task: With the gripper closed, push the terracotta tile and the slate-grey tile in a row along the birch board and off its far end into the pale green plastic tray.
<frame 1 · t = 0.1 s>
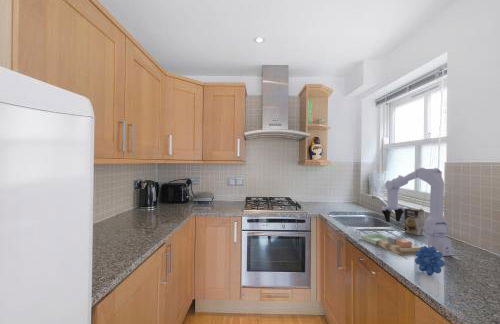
hand: (392, 221, 155), 10 cm above the countertop, tool pointing down, fingers open, 7 cm apart
terracotta tile: (403, 245, 130), point 3 cm above the countertop, touching birch board
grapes: (430, 274, 102), on the countertop
birch board: (398, 249, 133), on the countertop
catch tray: (377, 241, 148), on the countertop
slate tile: (395, 242, 135), point 3 cm above the countertop, touching birch board
coffee box: (413, 233, 166), on the countertop
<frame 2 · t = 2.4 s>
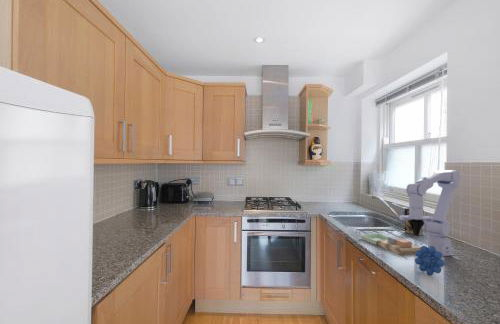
hand: (416, 235, 123), 10 cm above the countertop, tool pointing down, fingers closed
nothing on the countertop moved.
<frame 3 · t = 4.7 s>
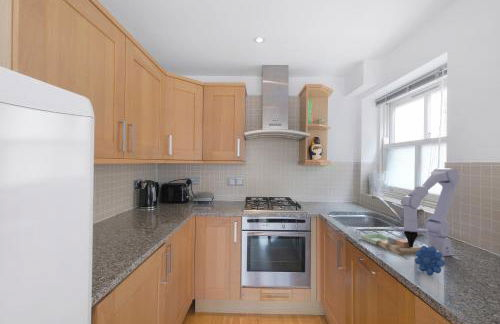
hand: (410, 246, 126), 4 cm above the countertop, tool pointing down, fingers closed
terracotta tile: (403, 245, 130), point 3 cm above the countertop, touching birch board, gripper
everything else where it was.
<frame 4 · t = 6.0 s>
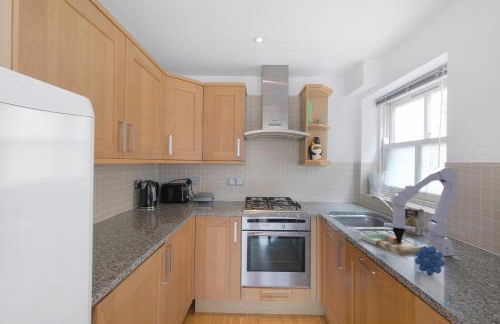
hand: (399, 242, 133), 4 cm above the countertop, tool pointing down, fingers closed
terracotta tile: (394, 241, 137), point 3 cm above the countertop, touching gripper
slate tile: (387, 239, 142), point 3 cm above the countertop
everything else where it was.
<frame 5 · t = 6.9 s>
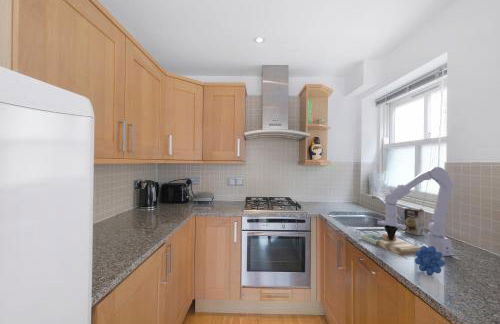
hand: (391, 239, 138), 4 cm above the countertop, tool pointing down, fingers closed
terracotta tile: (389, 239, 142), point 3 cm above the countertop, touching birch board
slate tile: (378, 235, 149), point 3 cm above the countertop, tilted 180°, touching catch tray
everything else where it was.
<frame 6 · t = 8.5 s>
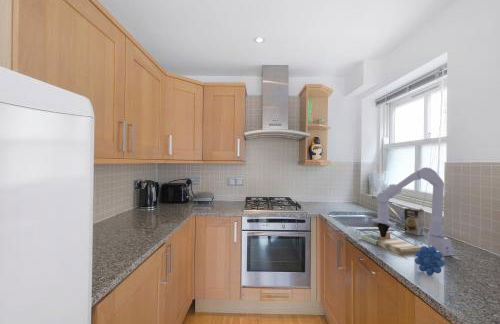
hand: (383, 236, 143), 4 cm above the countertop, tool pointing down, fingers closed
terracotta tile: (386, 237, 145), point 3 cm above the countertop, tilted 93°, touching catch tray, gripper, slate tile
slate tile: (378, 235, 150), point 3 cm above the countertop, tilted 180°, touching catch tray, terracotta tile
everything else where it was.
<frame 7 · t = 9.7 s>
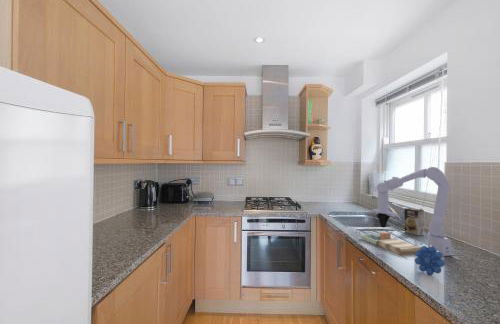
hand: (383, 227, 144), 9 cm above the countertop, tool pointing down, fingers closed
terracotta tile: (386, 237, 145), point 3 cm above the countertop, tilted 90°, touching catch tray
slate tile: (377, 235, 150), point 3 cm above the countertop, tilted 180°, touching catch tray
everything else where it was.
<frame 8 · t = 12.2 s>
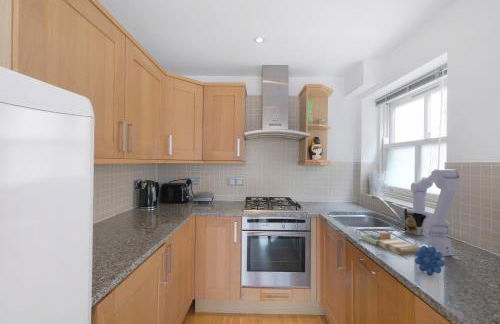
hand: (419, 226, 144), 9 cm above the countertop, tool pointing down, fingers closed
nothing on the countertop moved.
at the end: terracotta tile inside the target area on the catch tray (5.2 cm from its centre), point 2.9 cm above the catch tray's base; slate tile inside the target area on the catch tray (2.1 cm from its centre), point 2.9 cm above the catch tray's base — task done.
